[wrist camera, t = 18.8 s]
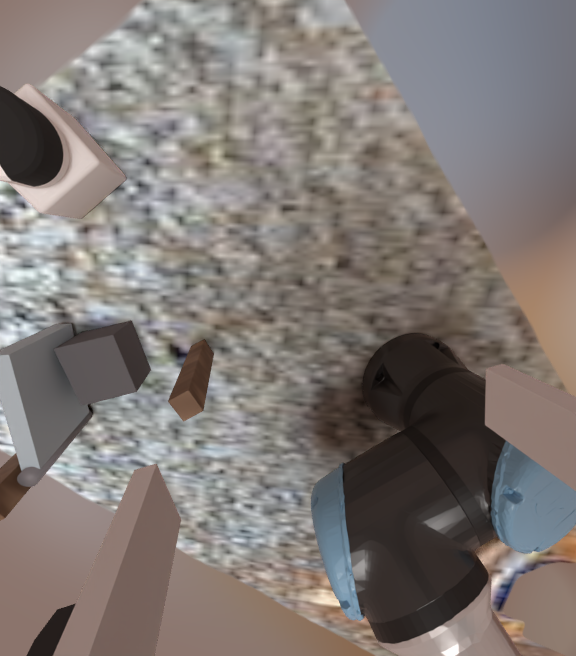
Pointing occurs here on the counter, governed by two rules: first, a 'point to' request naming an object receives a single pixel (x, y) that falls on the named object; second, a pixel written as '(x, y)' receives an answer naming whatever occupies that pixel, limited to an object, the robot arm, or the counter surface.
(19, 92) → the medicine bottle
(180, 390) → the doorframe
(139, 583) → the robot arm
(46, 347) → the door
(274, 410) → the counter surface
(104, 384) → the dark grey block
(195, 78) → the counter surface
